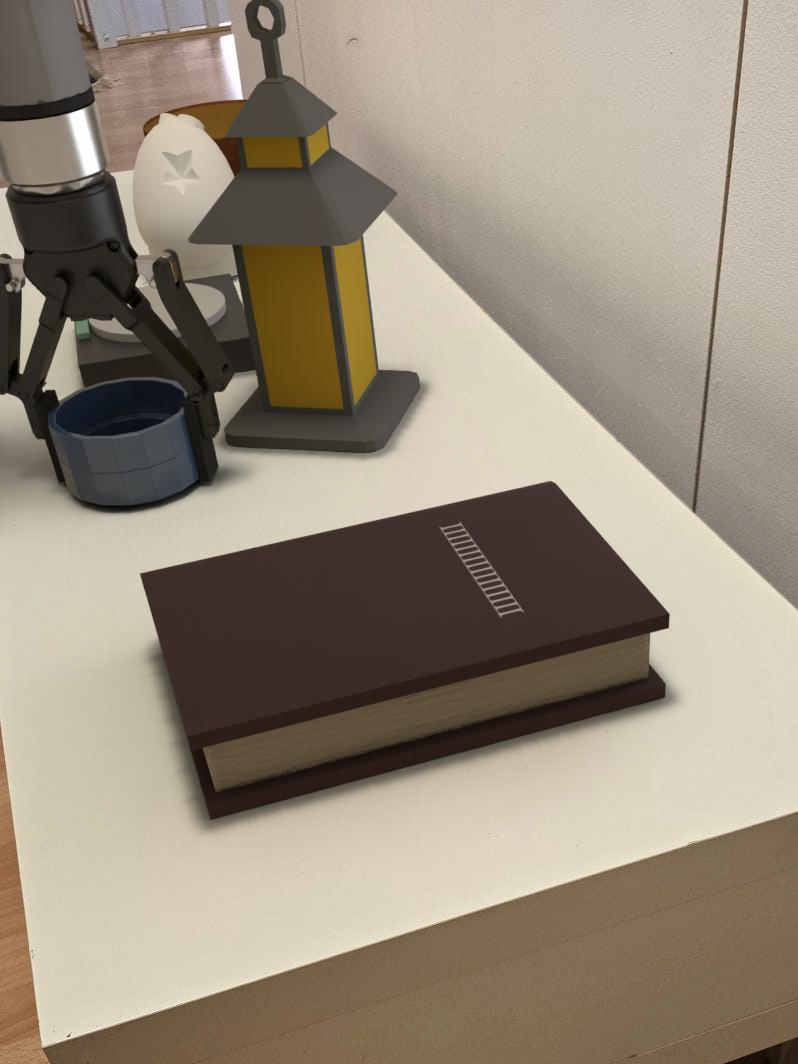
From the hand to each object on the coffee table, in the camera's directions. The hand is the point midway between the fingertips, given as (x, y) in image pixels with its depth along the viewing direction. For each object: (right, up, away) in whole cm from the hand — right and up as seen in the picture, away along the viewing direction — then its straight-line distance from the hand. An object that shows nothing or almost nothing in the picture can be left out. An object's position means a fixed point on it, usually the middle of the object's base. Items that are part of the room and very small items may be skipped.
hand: (138, 474), depth 99 cm
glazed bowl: (0, 0, 0) cm, 0 cm away
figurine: (-3, +33, +35) cm, 48 cm away
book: (+23, -19, -21) cm, 36 cm away
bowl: (-2, +48, +51) cm, 70 cm away
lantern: (+14, +8, +7) cm, 18 cm away
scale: (-3, +19, +20) cm, 28 cm away
